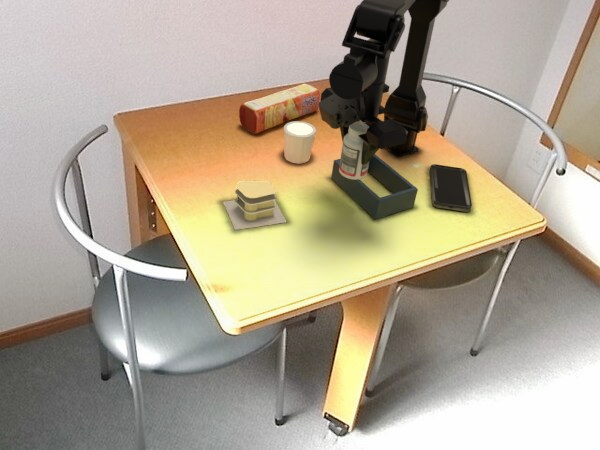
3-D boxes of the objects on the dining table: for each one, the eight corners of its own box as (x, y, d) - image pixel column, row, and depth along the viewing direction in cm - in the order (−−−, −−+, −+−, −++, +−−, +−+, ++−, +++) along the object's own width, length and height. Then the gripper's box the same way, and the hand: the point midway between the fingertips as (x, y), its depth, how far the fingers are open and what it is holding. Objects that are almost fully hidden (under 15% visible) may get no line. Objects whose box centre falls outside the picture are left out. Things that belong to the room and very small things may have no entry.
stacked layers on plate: (272, 195, 122) (273, 172, 119) (286, 222, 116) (288, 198, 113) (222, 201, 119) (223, 178, 116) (235, 230, 113) (235, 205, 109)
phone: (466, 168, 135) (472, 208, 123) (464, 173, 136) (470, 212, 124) (430, 163, 135) (432, 202, 123) (428, 167, 136) (431, 206, 124)
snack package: (302, 102, 156) (304, 77, 151) (320, 113, 152) (324, 87, 148) (237, 126, 143) (237, 99, 139) (255, 138, 140) (257, 111, 135)
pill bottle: (359, 163, 119) (367, 118, 113) (371, 178, 115) (380, 132, 109) (334, 166, 117) (340, 120, 111) (345, 182, 113) (352, 135, 107)
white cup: (309, 167, 132) (312, 139, 128) (278, 161, 133) (280, 133, 128) (315, 151, 137) (318, 123, 133) (285, 146, 138) (287, 118, 134)
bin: (367, 168, 134) (371, 150, 131) (413, 207, 124) (418, 189, 121) (331, 178, 129) (333, 160, 127) (375, 219, 119) (379, 200, 116)
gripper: (299, 62, 107) (292, 141, 116) (362, 110, 95) (348, 193, 104) (351, 54, 112) (340, 130, 121) (417, 98, 100) (399, 178, 109)
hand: (355, 156), depth 114 cm, fingers closed on pill bottle, 5 cm apart
